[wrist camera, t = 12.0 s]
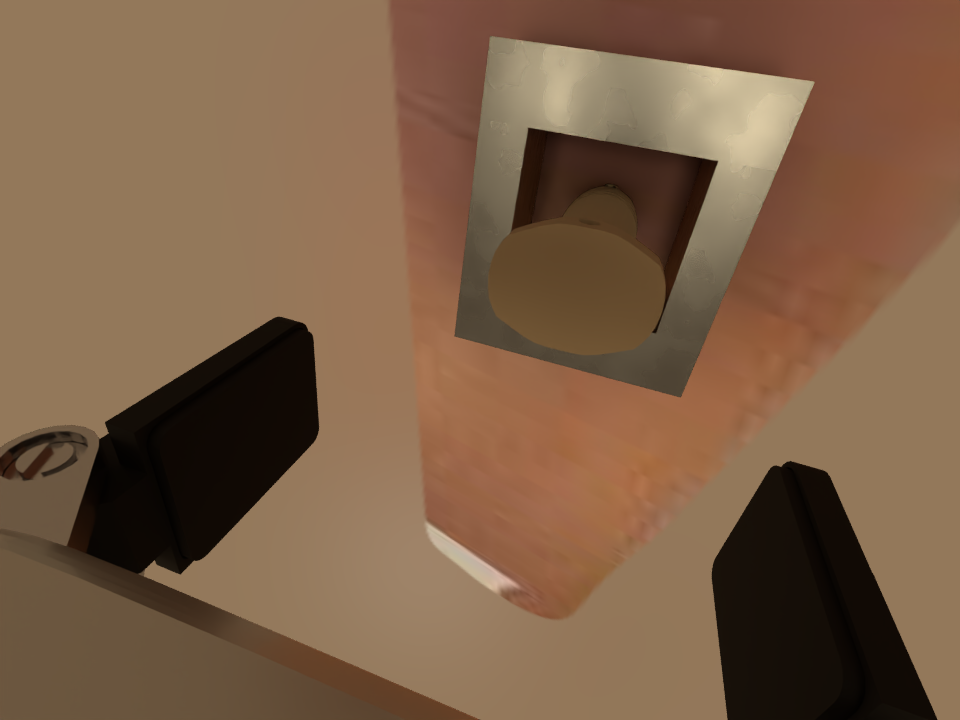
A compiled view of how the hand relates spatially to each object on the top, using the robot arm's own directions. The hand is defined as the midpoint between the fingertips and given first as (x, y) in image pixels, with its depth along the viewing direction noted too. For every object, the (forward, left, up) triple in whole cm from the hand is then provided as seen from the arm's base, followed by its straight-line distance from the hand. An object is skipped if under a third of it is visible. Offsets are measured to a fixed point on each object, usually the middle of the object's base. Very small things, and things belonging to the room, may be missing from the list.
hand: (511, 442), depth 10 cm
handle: (0, 0, -25) cm, 25 cm away
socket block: (0, 0, -24) cm, 24 cm away
